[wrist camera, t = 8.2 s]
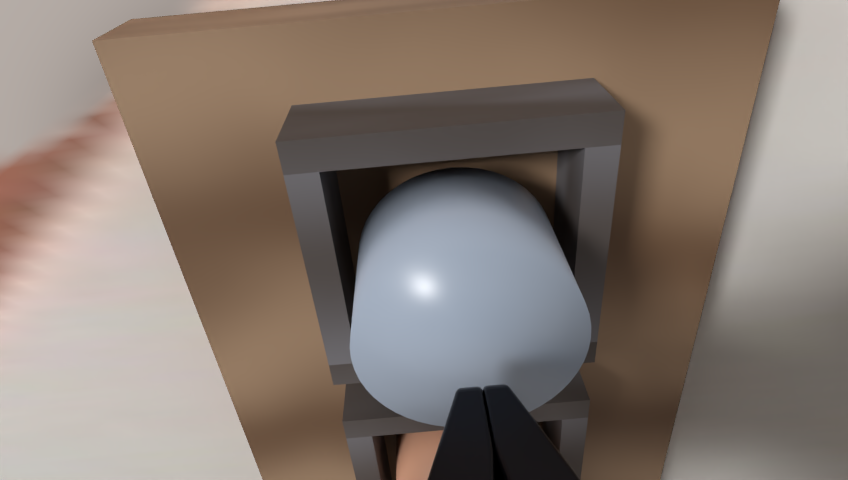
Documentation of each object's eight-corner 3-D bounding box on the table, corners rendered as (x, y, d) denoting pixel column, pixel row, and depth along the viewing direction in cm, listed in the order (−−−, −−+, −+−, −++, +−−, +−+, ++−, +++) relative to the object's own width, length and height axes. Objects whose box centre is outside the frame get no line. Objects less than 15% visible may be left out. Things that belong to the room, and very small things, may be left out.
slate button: (548, 319, 14) (582, 417, 11) (371, 335, 14) (367, 435, 12) (557, 157, 12) (602, 236, 9) (344, 176, 12) (330, 261, 9)
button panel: (614, 558, 27) (645, 654, 24) (325, 582, 27) (316, 682, 24) (735, -37, 13) (853, -6, 10) (130, 19, 13) (40, 69, 10)
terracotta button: (528, 464, 20) (548, 551, 17) (403, 476, 20) (404, 564, 17) (532, 376, 17) (555, 462, 15) (388, 388, 17) (387, 476, 15)
